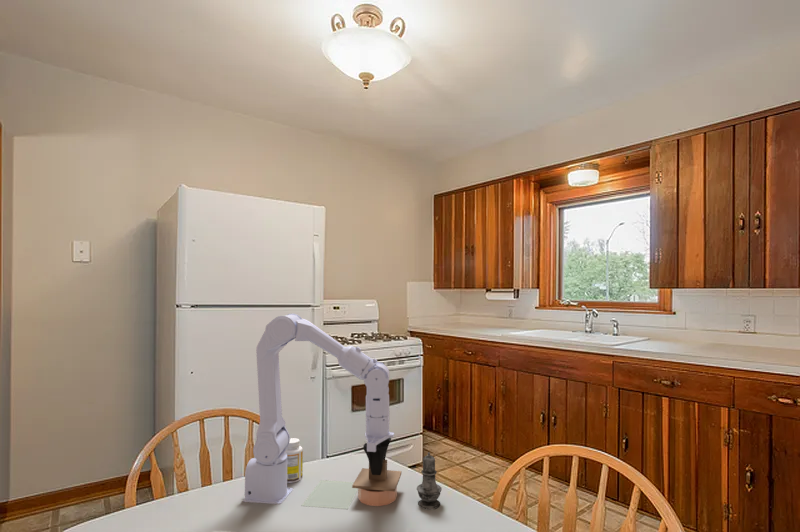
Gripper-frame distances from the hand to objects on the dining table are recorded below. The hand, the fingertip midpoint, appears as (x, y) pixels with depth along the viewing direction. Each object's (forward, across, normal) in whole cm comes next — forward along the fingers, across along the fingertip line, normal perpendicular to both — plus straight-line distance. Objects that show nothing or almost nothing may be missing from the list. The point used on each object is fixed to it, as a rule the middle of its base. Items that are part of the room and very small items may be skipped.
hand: (377, 471), depth 109 cm
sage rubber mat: (+6, 0, +11) cm, 13 cm away
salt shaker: (+6, -1, -12) cm, 14 cm away
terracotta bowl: (+6, 0, 0) cm, 6 cm away
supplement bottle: (+6, +7, +24) cm, 26 cm away
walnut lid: (+2, 0, 0) cm, 2 cm away
